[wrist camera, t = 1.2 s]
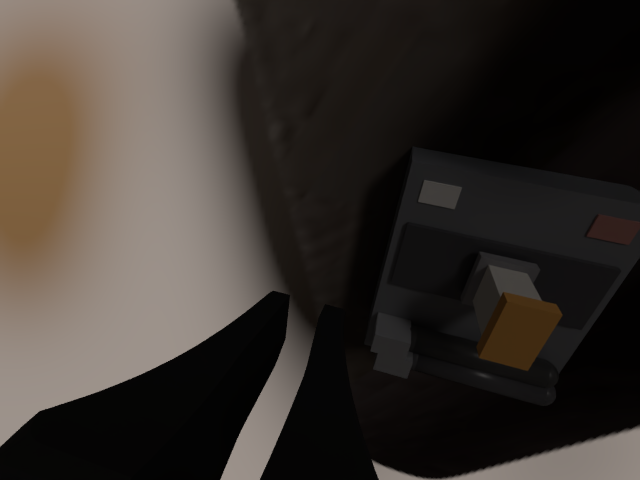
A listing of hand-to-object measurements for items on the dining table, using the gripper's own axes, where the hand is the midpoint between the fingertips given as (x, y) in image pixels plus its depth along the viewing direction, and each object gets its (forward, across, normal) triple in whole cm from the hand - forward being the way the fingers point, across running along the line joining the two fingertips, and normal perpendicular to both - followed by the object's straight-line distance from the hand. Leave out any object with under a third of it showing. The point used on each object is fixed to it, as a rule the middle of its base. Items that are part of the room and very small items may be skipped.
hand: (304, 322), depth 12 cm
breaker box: (+9, -8, +1) cm, 12 cm away
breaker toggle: (+6, -7, 0) cm, 9 cm away
